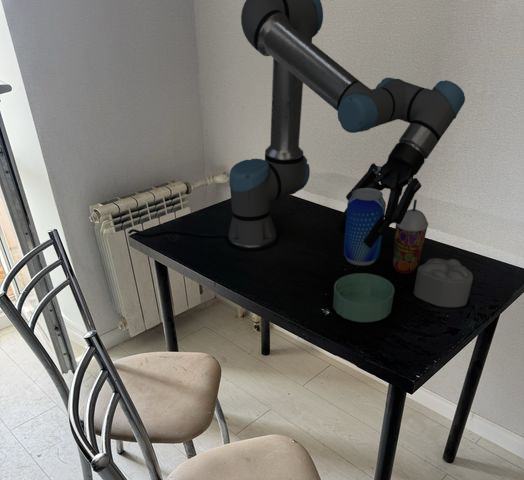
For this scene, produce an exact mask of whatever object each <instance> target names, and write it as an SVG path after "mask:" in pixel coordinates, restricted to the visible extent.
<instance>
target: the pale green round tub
mask: <svg viewBox="0 0 524 480" xmlns="http://www.w3.org/2000/svg"><path fill="white" fill-rule="evenodd" d="M332 293H333V295H332V307H333V310H334V312H336V314H337V315H339V316H340V317H341V318H344V319H346V320H349V321H352V322H357V323H373V322H378V321H381V320H384V319H385V318H387V317H388V316H389V315H390V314H391V313H392V310H393V305H394V299H395V293H396V289H395V286H394V285H393V283H392V282H390V280H389V279H386V278H385V277H383V276H381V275H377V274H374V273H373V274H372V273H367V272H355V273H350V274H346V275H344V276H340V278H338V279H337V280H335V282H334V284H333V292H332Z"/></svg>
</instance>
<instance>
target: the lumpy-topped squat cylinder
mask: <svg viewBox="0 0 524 480" xmlns="http://www.w3.org/2000/svg"><path fill="white" fill-rule="evenodd" d="M473 275H474V274H473V273H472V271H471V270H470V269H468V268H467V267H465V266H464V265H462V264H461V262H460V261H459V260H458V259H456V258H450V259H444V258H439V257H435V258H434V257H433V258H429V259H428V260H427V261H426V262H424V264H421V265H418V267H417V270H416V276H415V282H414V288H413V295H414V296H415V297H416V298H418V299H420V300H422V301H424V302H426V303H428V304H431V305H434V306H437V307H442V308H443V307H444V308H461V307H464V306H466V305H467V303H468V300H469V297H470V292H471V288H472V284H473V280H474V276H473Z"/></svg>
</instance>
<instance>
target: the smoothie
mask: <svg viewBox="0 0 524 480" xmlns="http://www.w3.org/2000/svg"><path fill="white" fill-rule="evenodd" d="M417 200H418V199H413V205H412V208H410V209H408V210H407V212H406V214H405V216H404V218H403V220H402V222H401V223H400V224H397V223H395V227H394V242H393V256H392V257H393V258H392V266H393V268H394V270H395V272H398V273H400V274H404V275H405V274H406V275H408V274H413V273H414V272H415V271H416V269H418V267H419V263H420V259H421V255H422V251H423V246H424V242H425V239H426V234H427V230H428V227H429V222H428V220H427V218H426V215H425V214H424V212H422V211H421V210H419V209H416V208H417V202H418V201H417Z"/></svg>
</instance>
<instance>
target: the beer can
mask: <svg viewBox="0 0 524 480" xmlns="http://www.w3.org/2000/svg"><path fill="white" fill-rule="evenodd" d="M383 195H384V193H383V192H382V191H379V190H377V189H373V188H360V189H357V190H355V191H353V193H352V196H351V198H350V199H349V201H348V200H347V204H346V205H347V206H346V208H347V216H346V228H345V232H344V243H343V256H344V257H345V259H346V261H347V262H348V263H350V264H352V265H355V266H370V265H372V264H374V263H375V262H376V260H378V259H379V257H380V253H381V246H382V238H383V235H382V236H381V235H380V236H379V237H378V239H377V240H376V242H375V243H374V245H373V246H372V248H369V247H368V246H367V245H366V244H365V243H364V242H363V241H364V240H365V239H366V237H367V236H368V234H369V233H370V231H371V230H372V228H373V227H374V225H375V224H376V222H377V221H378V220H379V218H380V217H382V218H384V217H383V215H385V212H386V208H387V204H386V203H387V202H386V201H385V199H384V197H383ZM384 219H385V218H384Z"/></svg>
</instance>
